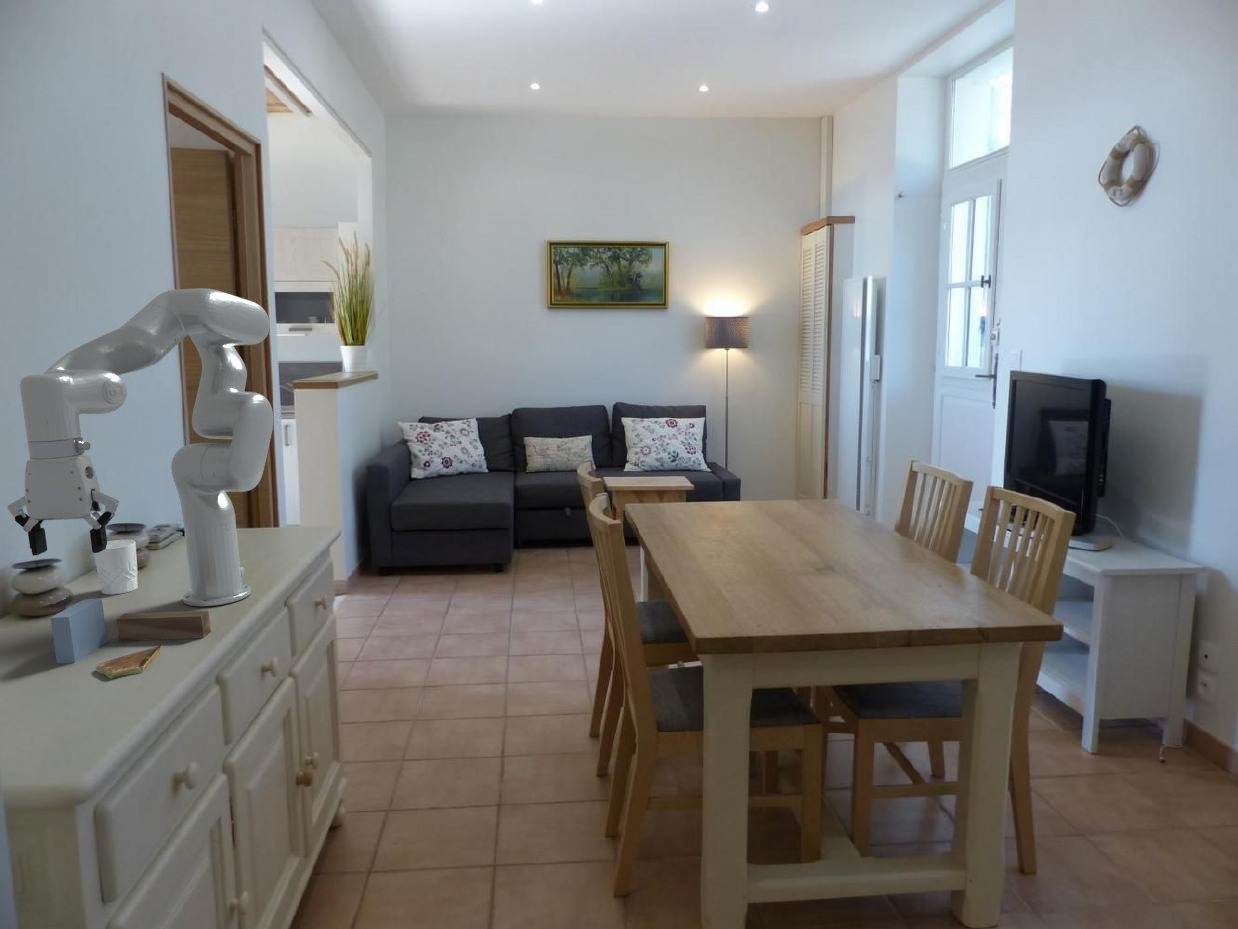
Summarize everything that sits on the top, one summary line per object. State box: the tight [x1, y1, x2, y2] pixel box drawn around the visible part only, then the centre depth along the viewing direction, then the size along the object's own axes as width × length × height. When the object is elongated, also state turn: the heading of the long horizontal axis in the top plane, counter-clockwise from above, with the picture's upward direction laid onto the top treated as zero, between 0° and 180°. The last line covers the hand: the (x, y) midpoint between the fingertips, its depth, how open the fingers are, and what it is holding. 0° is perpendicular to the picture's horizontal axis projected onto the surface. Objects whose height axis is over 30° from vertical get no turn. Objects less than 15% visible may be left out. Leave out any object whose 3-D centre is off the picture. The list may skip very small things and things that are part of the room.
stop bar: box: [115, 610, 212, 642], centre depth 163 cm, size 3×15×4 cm, turn 91°
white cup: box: [93, 539, 139, 595], centre depth 193 cm, size 8×8×10 cm
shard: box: [95, 644, 163, 679], centre depth 150 cm, size 11×8×2 cm
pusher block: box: [50, 597, 108, 664], centre depth 156 cm, size 3×10×8 cm, turn 1°
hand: (69, 552), depth 151 cm, fingers open, 9 cm apart
